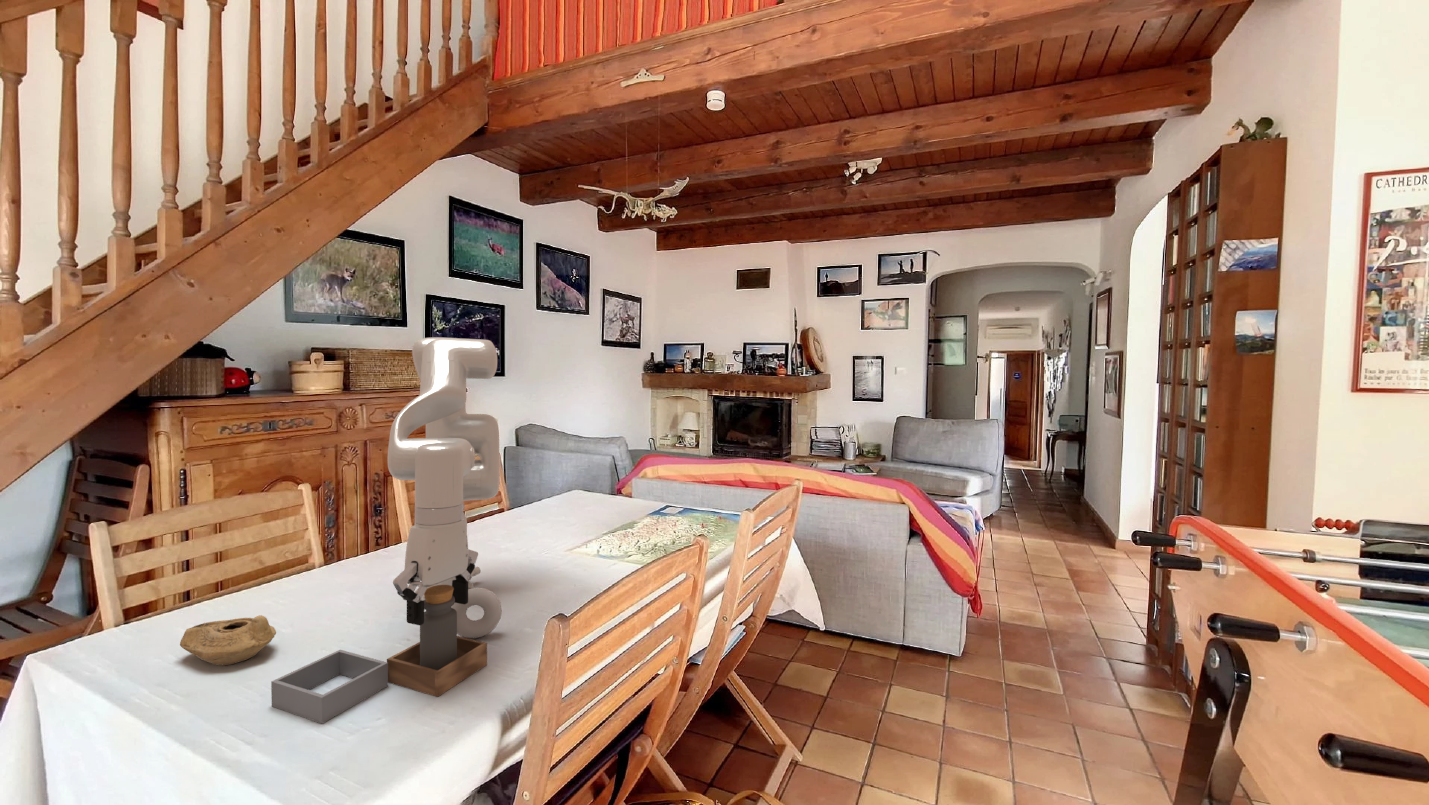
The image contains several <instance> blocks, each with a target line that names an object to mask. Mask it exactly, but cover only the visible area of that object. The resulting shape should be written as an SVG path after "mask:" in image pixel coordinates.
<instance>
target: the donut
mask: <svg viewBox="0 0 1429 805" xmlns="http://www.w3.org/2000/svg"><path fill="white" fill-rule="evenodd" d="M472 606H478V607H480V608H482V609H483V615H482V617H481V618H479V619H475V620H474V619H470V618H469V617H468V614H467V611H468V609H469V608H470V607H472ZM451 608H453V609H455V610H456V611H457V636H460V637H464V638H468V639H478V638H481V637H484V636H486V635H488V634H489V633H491V632H492V631H494V629H495V628H497V625H499V622H500V620H501V616H502V613H503V609H502V603H501V601H500V599H499V598H498V595H497V594H495V593H494V592H493V591H492V590H489V589H488V588H485V587H474V588H471V589H468V603H467V604H459V603H454V605H453V606H451Z"/></svg>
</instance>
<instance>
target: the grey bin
mask: <svg viewBox="0 0 1429 805" xmlns="http://www.w3.org/2000/svg"><path fill="white" fill-rule="evenodd" d="M339 675H341V676H343V677H348V678H350V680H348V681H347V682H344V683H343V684H341V685H338V686H337V687H335V688H333V689H332V690H330V691H327V692H326V693H324V694H322V693H319V692H316V691H312V689H313V688H315V687H317V686H319V685H321V684H323V683H325V682H327V681H329V680H330V679H333V678H334V677H337V676H339ZM351 678H352V679H351ZM270 684H271V686H270V687H271V707H272V708H275V709H278V710H281V711H284V712H287V713H290V714H292V715H296V716H298V717H301V718H305V719H307V720H310V721H313V722H315V723H319V724H321V725H322V724H324V723H326V722H328V721H329V720H331V719H333V718H335V717H336V716H338V715H340V714H342V713H343V712H346V711H347V710H348V709H350V708H351V707H354V706H355V705H357V704H359V703H360V702H362V701H364V700H366V699H368V698H370V697H371V696H373V695H374V694H376V693H379V692H380V691H382V690H383V689H385V688H387V687H388V686H389V682H388V663H387V661H383V660H381V659H380V660H379V659H377V658H372V657H368V656H365V655H361V654H357V653H354V652H350V651H347V650H343V649H338V650H336V651H334V652H331V653H330V654H327V655H325V656H324V657H321V658H318V659H317V660H315V661H312V662H310V663H308V664H306V665H304V666H302V667H299V668H298V669H295V670H293V671H291V672H289V673H287V674H285V675H282V676H280V677H278V678H276V679H273V680H272V681H271V683H270ZM341 712H342V713H341ZM334 716H335V717H334Z"/></svg>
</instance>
